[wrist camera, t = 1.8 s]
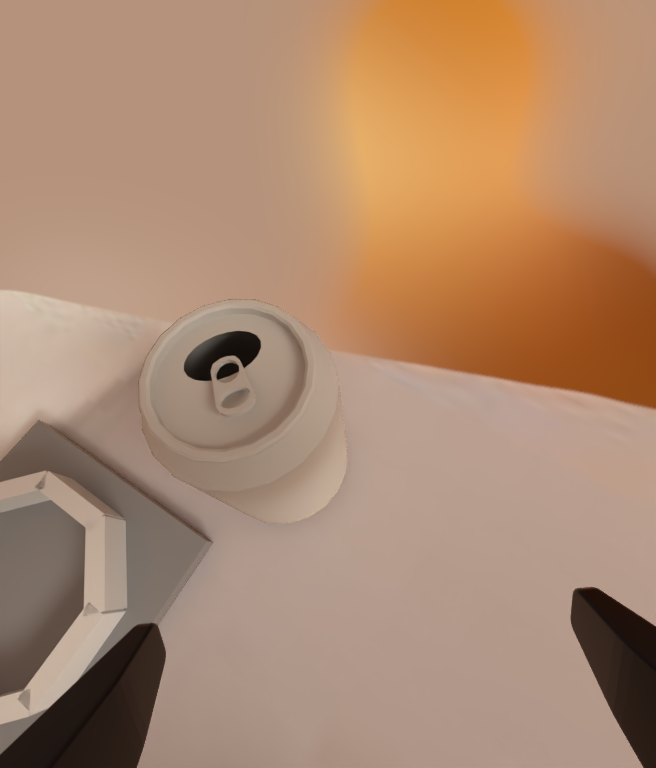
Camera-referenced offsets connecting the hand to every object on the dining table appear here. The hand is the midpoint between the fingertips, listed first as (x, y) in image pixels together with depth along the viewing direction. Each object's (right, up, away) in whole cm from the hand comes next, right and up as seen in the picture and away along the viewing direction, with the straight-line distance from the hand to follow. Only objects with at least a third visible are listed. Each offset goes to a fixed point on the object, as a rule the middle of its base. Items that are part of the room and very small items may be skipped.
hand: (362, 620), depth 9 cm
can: (-3, 0, +16) cm, 16 cm away
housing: (-17, -6, +14) cm, 23 cm away
